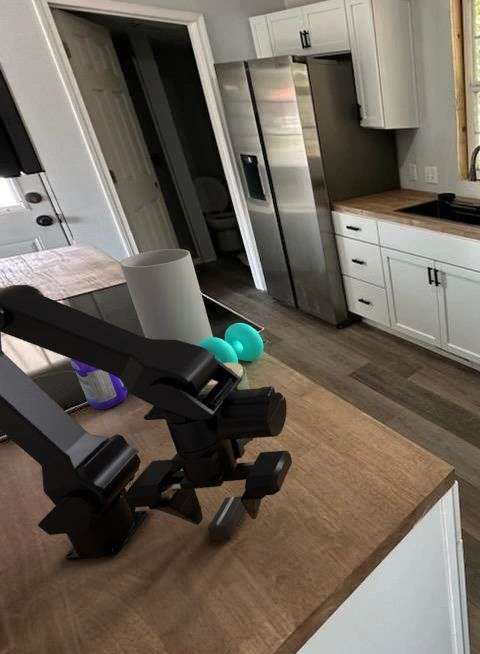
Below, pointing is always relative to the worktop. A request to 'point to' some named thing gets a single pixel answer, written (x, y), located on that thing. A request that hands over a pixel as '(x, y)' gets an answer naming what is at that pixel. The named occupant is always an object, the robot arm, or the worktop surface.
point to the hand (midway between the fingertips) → (228, 518)
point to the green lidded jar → (238, 370)
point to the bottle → (99, 386)
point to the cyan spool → (235, 344)
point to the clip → (226, 518)
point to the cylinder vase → (167, 295)
